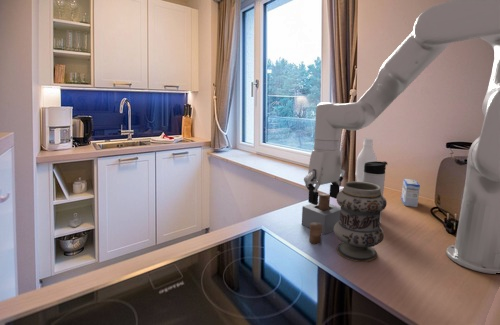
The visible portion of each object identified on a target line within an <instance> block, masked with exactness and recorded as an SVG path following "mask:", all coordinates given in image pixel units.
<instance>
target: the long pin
mask: <svg viewBox="0 0 500 325" xmlns="http://www.w3.org/2000/svg"><path fill="white" fill-rule="evenodd" d="M330 200H331V197H330V193H329V194H328V193H318V202H319V208H318V209H319V210H322V211H327V210H329V204H331V202H330Z"/></svg>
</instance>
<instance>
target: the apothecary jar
mask: <svg viewBox="0 0 500 325" xmlns="http://www.w3.org/2000/svg"><path fill="white" fill-rule="evenodd" d="M336 203H337V204H338V205H339V207H341V211H340V220H339V221H338V222H337V223H336V224H335V226H334V231H333V233H334V234H335V236H336V238H337V239H339V241H341V243H340V244H338V246H337V248H336V251H337V253H338V254H339V256H341V257H343V258H345V259H347V260H350V261H354V262H360V263H362V262H363V263H364V262H365V263H366V262H371V261H374V260H376V258H377V257H378V251H377V250H376V249H375V248H374V247H375V246H377V245H379V244H380V243H382V242H383V241H384V237H385V232H384V230H383V229H382V227H381V226H380V224H381V220H380V211H381V212H382V211H384V210H385V209H386V207H387V200H386V198H385V197H384V195H383V196H382V195H381V192H380V187H379V186H378V185H376V184H372V183H367V182H357V181H347V182H345V183H344V184H343V188H342V190H339V193H338V195H337V198H336Z"/></svg>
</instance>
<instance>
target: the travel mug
mask: <svg viewBox="0 0 500 325" xmlns="http://www.w3.org/2000/svg"><path fill="white" fill-rule="evenodd" d="M387 166H388V162H387V161H378V160H377V161H376V162H367V163H365V165H364V174H363V182H367V183H372V184H376V185H378V186H379V187H380V192H381V195H382V196H383V197H384V189H385V188H384V187H385V180H386V168H387ZM381 218H382V211H380V221H381V220H382V219H381Z"/></svg>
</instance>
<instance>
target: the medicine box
mask: <svg viewBox="0 0 500 325" xmlns="http://www.w3.org/2000/svg"><path fill="white" fill-rule="evenodd" d="M420 187H421V185H420V183H419V182H418V181H417V179H412V178H411V179H410V178H403V181H402V187H401V188H402V189H401V198H400V199H401V202H402V203H403V205H404V206H405V207H413V208H417V207H418V204H419V195H420V190H421V188H420Z"/></svg>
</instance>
